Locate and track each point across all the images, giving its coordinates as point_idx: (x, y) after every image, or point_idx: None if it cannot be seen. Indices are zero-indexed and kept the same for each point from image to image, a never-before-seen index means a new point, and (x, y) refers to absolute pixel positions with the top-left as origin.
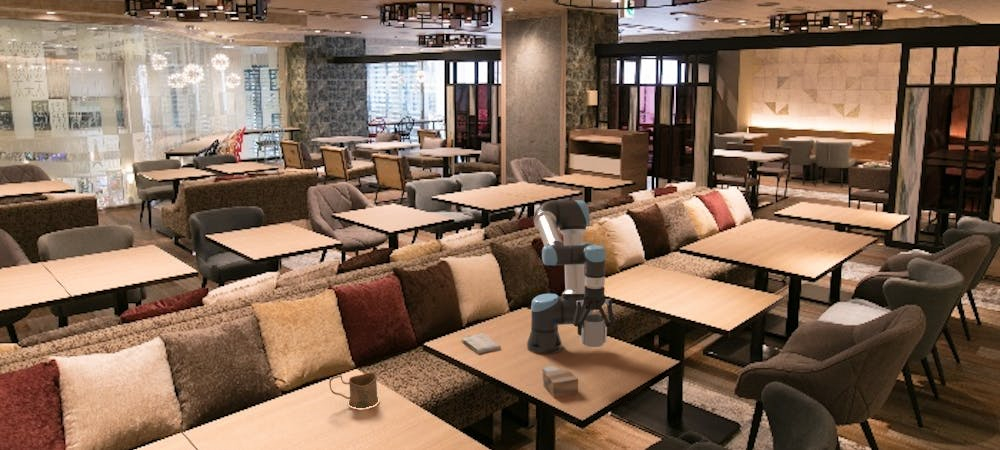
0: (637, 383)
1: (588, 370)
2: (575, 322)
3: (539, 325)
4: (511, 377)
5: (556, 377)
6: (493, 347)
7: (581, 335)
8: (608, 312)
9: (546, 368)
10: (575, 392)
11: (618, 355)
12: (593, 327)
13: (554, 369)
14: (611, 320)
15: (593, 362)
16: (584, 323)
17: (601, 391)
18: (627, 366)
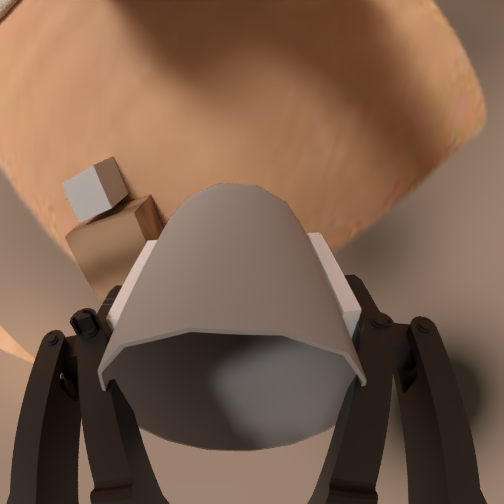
0: (369, 222)
1: (242, 100)
2: (67, 392)
3: None
4: (19, 163)
5: (103, 275)
6: (2, 10)
7: None
8: (427, 427)
9: (71, 188)
10: None
11: (380, 14)
12: (216, 411)
13: (95, 196)
14: (400, 387)
15: (278, 37)
16: (138, 397)
17: None
18: (386, 98)
